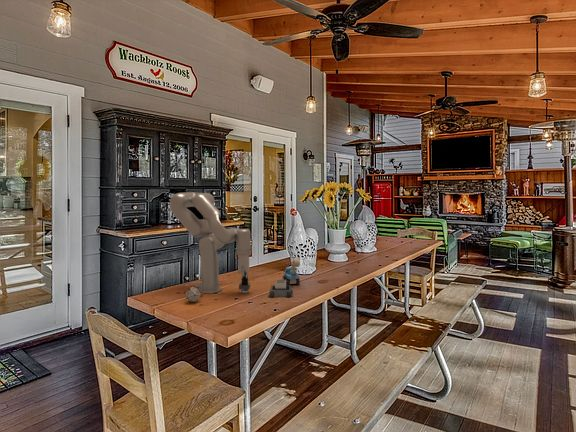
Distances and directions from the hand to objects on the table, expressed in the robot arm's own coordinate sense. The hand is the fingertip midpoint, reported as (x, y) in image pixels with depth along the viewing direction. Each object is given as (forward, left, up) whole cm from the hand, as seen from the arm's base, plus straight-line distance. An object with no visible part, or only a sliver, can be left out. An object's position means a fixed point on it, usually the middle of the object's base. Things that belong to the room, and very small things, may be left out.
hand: (244, 284), depth 205 cm
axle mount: (0, +2, -5) cm, 5 cm away
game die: (-24, -14, -5) cm, 29 cm away
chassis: (+20, 0, -5) cm, 20 cm away
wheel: (0, +2, -2) cm, 3 cm away
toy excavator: (+26, +18, -5) cm, 32 cm away
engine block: (+20, 0, -4) cm, 20 cm away
